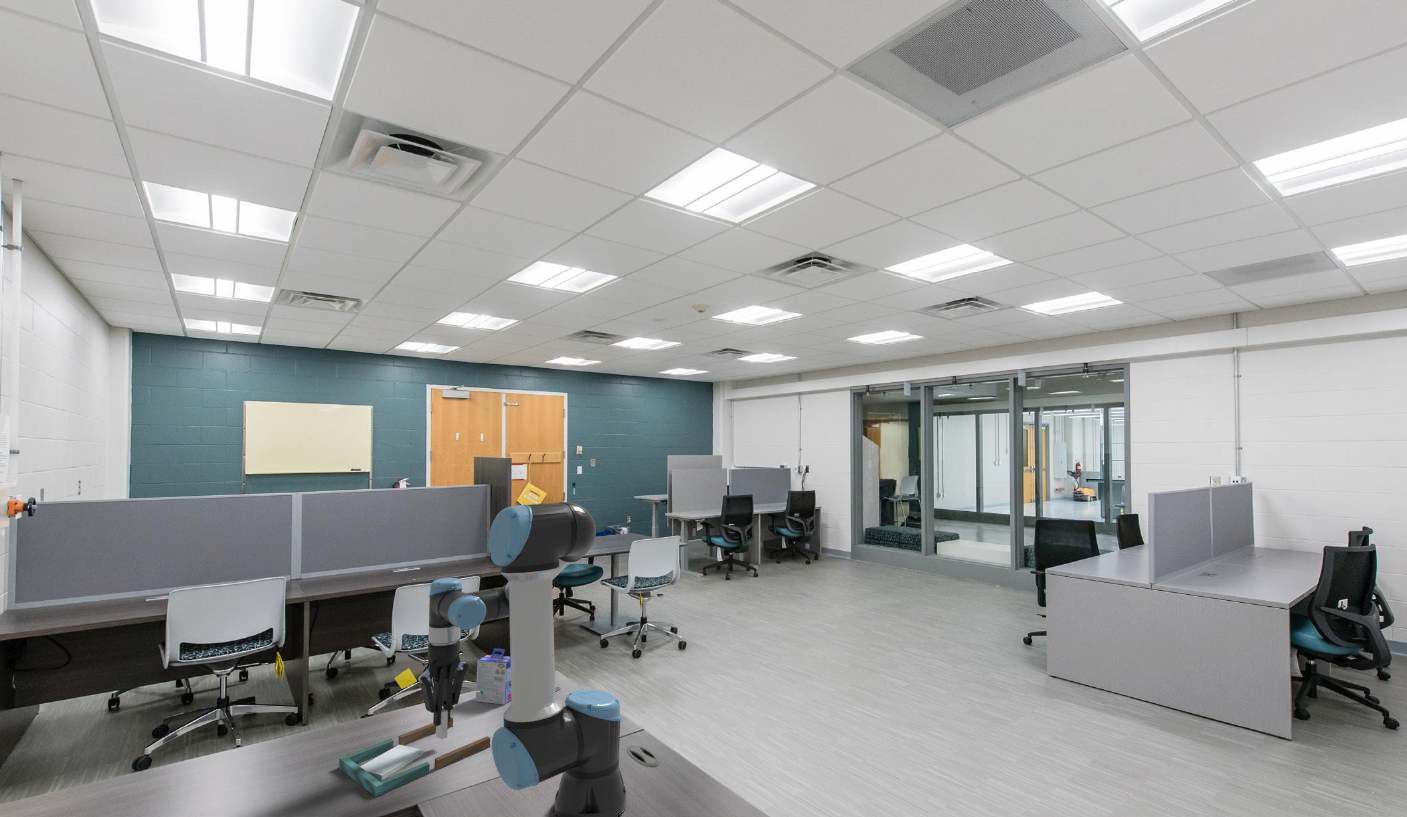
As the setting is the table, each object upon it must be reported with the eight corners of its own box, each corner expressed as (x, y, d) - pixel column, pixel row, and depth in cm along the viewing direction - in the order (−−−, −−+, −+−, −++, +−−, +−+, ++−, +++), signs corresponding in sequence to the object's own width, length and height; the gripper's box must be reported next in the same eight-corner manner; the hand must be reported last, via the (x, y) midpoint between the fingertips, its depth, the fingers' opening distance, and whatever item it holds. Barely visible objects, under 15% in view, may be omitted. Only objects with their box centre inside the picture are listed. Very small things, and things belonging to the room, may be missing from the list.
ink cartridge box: (514, 697, 184) (516, 648, 184) (505, 705, 178) (506, 655, 179) (485, 694, 186) (486, 646, 186) (474, 702, 180) (476, 652, 181)
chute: (490, 746, 154) (490, 737, 154) (375, 797, 132) (376, 786, 132) (450, 724, 166) (450, 716, 166) (338, 767, 144) (339, 758, 144)
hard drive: (381, 775, 139) (423, 749, 150) (355, 768, 141) (398, 743, 153) (381, 783, 139) (423, 756, 150) (354, 775, 141) (397, 750, 153)
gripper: (459, 632, 162) (457, 723, 161) (411, 644, 152) (408, 742, 151) (475, 637, 158) (473, 731, 156) (427, 650, 148) (424, 751, 146)
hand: (441, 736), depth 153 cm, fingers closed
